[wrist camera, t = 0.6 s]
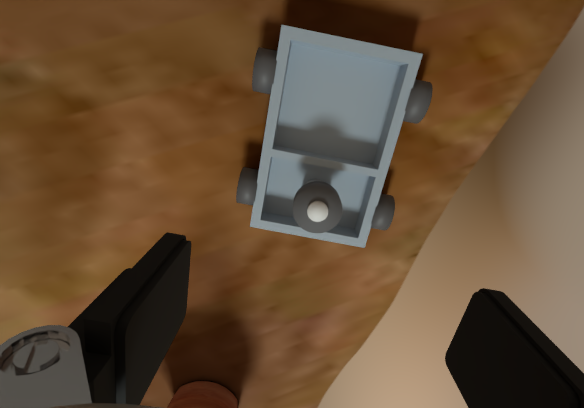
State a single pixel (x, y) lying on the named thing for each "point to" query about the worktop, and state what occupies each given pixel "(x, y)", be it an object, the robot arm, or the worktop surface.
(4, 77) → the worktop surface
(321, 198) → the spare wheel
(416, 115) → the chassis
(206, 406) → the potted plant
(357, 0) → the worktop surface
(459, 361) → the robot arm
